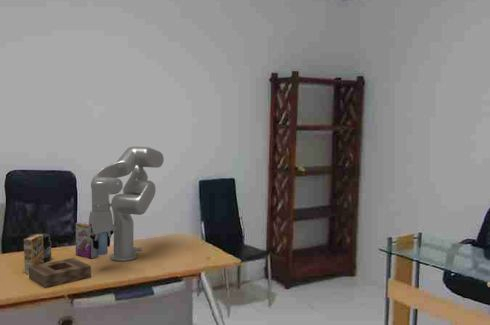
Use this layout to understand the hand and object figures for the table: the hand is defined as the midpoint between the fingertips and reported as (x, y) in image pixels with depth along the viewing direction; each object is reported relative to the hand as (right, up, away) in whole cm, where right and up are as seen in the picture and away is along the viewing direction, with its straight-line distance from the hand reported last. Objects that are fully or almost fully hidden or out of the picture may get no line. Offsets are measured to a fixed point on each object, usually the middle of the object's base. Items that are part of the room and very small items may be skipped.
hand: (101, 246), depth 222 cm
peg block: (-14, -11, -11) cm, 22 cm away
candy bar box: (-14, -8, +21) cm, 26 cm away
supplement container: (-33, -9, +12) cm, 36 cm away
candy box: (-29, -10, -2) cm, 31 cm away
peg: (0, -3, 0) cm, 3 cm away
